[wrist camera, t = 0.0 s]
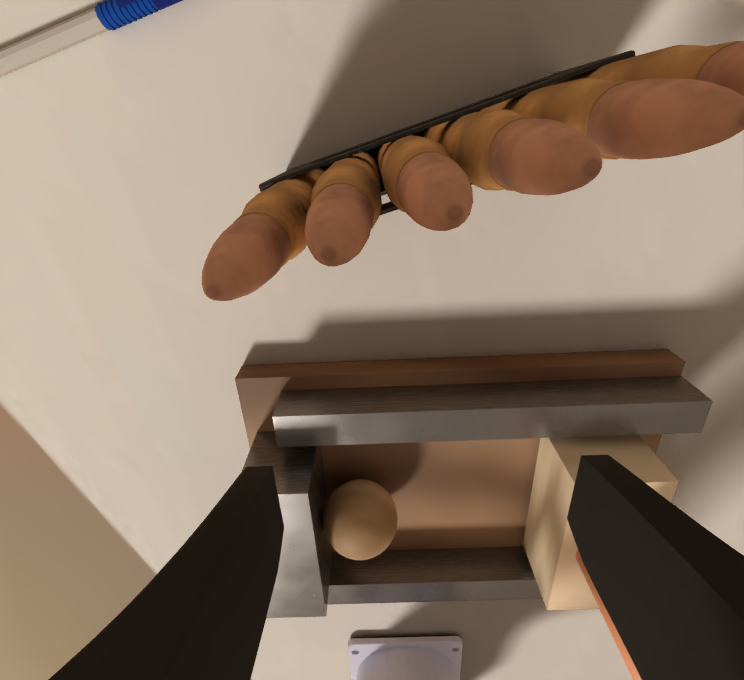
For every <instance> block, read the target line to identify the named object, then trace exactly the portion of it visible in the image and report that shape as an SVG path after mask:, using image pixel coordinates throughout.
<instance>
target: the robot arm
mask: <svg viewBox="0 0 744 680" xmlns="http://www.w3.org/2000/svg"><path fill="white" fill-rule="evenodd" d="M567 520H568V523H569V526H570V529H571V531H572V534H573V537H574V540H575V543H576V545H577V548H578V551H579V553H580V556H581V558H582V561H583V564H584V566H585V568H586V570H587V572H588V574H589V576H590V578H591V580H592V582H593V584H594V586H595V588H596V590H597V592H598V594H599V596H600V598H601V600H602V602H603V604H604V606H605V608H606V610H607V612H608V614H609V616H610V618H611V620H612V622H613V624H614V626H615V628H616V629H617V631H618V633H619V635H620V637H621V639H622V641H623V643H624V645H625V647H626V649H627V651H628V653H629V655H630V657H631V659H632V661H633V663H634V665H635V667H636V669H637V671H638V673H639V675H640V677H641V679H642V680H744V556H743V555H742V554H740V553H739V552H738V551H736V550H735V549H733V548H732V547H730V546H729V545H728V544H726V543H725V542H723V541H722V540H721V539H719V538H718V537H716V536H715V535H714V534H712V533H711V532H710V531H708V530H707V529H705V528H704V527H703V526H701V525H700V524H699V523H697V522H696V521H695V520H693V519H692V518H691V517H689V516H688V515H687V514H685V513H684V512H683V511H681V510H680V509H679V508H677V507H676V506H675V505H673V504H672V503H671V502H669V501H668V500H667V499H666V498H664V497H663V496H662V495H660V494H659V493H658V492H656V491H655V490H654V489H653V488H651V487H650V486H649V485H647V484H646V483H645V482H644V481H642V480H641V479H640V478H638V477H637V476H636V475H634V474H633V473H632V472H631V471H629V470H628V469H627V468H625V467H624V466H623V465H621V464H620V463H619V462H617V461H616V460H615V459H613V458H612V457H611V456H609V455H581V458H580V463H579V467H578V472H577V476H576V480H575V485H574V489H573V494H572V498H571V502H570V507H569V511H568V516H567ZM283 532H284V523H283V518H282V513H281V508H280V503H279V497H278V492H277V487H276V482H275V477H274V472H273V466H253V467H246V468H245V469H244V470H243V471H242V472H241V474H240V475H239V476H238V478H237V479H236V480H235V481H234V483H233V484H232V485H231V487H230V488H229V489H228V490H227V492H226V493H225V494H224V496H223V497H222V498H221V499H220V501H219V502H218V503H217V505H216V506H215V507H214V508H213V510H212V511H211V512H210V513H209V515H208V516H207V517H206V518H205V519H204V521H203V522H202V523H201V524H200V525H199V527H198V528H197V529H196V530H195V531H194V533H193V534H192V535H191V536H190V537H189V539H188V540H187V541H186V542H185V543H184V545H183V546H182V547H181V548H180V549H179V550H178V552H177V553H176V554H175V555H174V556H173V557H172V558H171V559H170V560H169V562H168V563H167V564H166V565H165V566H164V567H163V568H162V569H161V570H160V572H159V573H158V574H157V575H156V576H155V577H154V578H153V579H152V581H151V582H150V583H149V584H148V585H147V586H146V587H145V588H144V589H143V590H142V591H141V592H140V593H139V594H138V595H137V596H136V597H135V599H133V601H132V602H131V603H130V604H129V605H128V606H127V607H126V608H125V609H124V610H123V611H122V612H121V613H120V614H119V615H118V616H117V617H116V618H115V619H114V620H112V622H111V623H109V624H108V626H106V627H105V628H104V629H103V630H102V631H101V632H100V633H99V634H98V635H97V636H96V637H95V638H94V639H93V640H92V641H91V642H90V643H89V644H87V645H86V646H85V647H84V648H83V649H82V650H81V651H80V652H79V653H78V654H77V655H75V657H73V658H72V659H71V660H70V661H69V662H68V663H67V664H66V665H64V666H63V667H62V668H61V669H60V670H59V671H58V672H57V673H56V674H54V675H53V676H52V677H51V678H50V679H49V680H250V678H251V674H252V671H253V667H254V663H255V659H256V655H257V651H258V647H259V643H260V640H261V636H262V632H263V628H264V624H265V620H266V616H267V613H268V609H269V605H270V601H271V597H272V593H273V589H274V585H275V581H276V577H277V573H278V567H279V561H280V554H281V547H282V540H283ZM462 648H463V643H462V639H461V638H460V637H459V636H430V637H392V638H354V639H351V640H349V641H348V654H349V662H350V671H351V679H352V680H460V671H461V659H462Z"/></svg>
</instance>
